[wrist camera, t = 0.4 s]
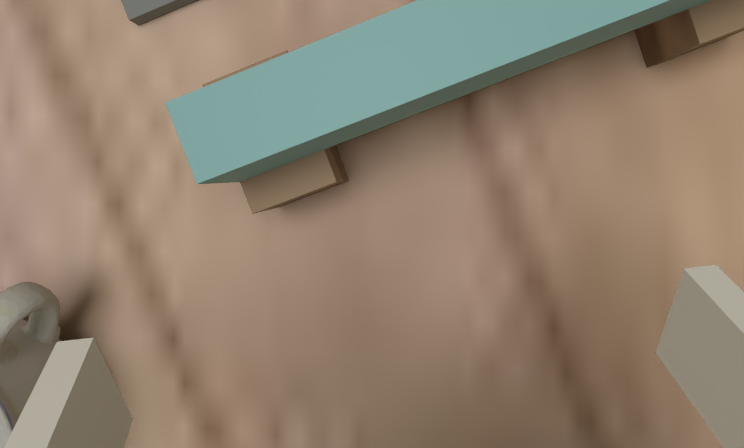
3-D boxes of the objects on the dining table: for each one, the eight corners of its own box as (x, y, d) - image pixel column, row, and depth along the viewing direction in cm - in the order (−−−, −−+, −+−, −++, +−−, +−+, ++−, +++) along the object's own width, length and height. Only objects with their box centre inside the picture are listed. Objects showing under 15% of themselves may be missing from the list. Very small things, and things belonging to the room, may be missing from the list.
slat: (787, -30, 22) (897, -89, 17) (240, 181, 24) (196, 184, 19) (764, -103, 22) (869, -184, 17) (214, 117, 24) (164, 102, 19)
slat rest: (726, 37, 27) (798, 6, 22) (279, 206, 29) (252, 213, 24) (688, -81, 27) (752, -140, 22) (237, 100, 29) (202, 84, 24)
